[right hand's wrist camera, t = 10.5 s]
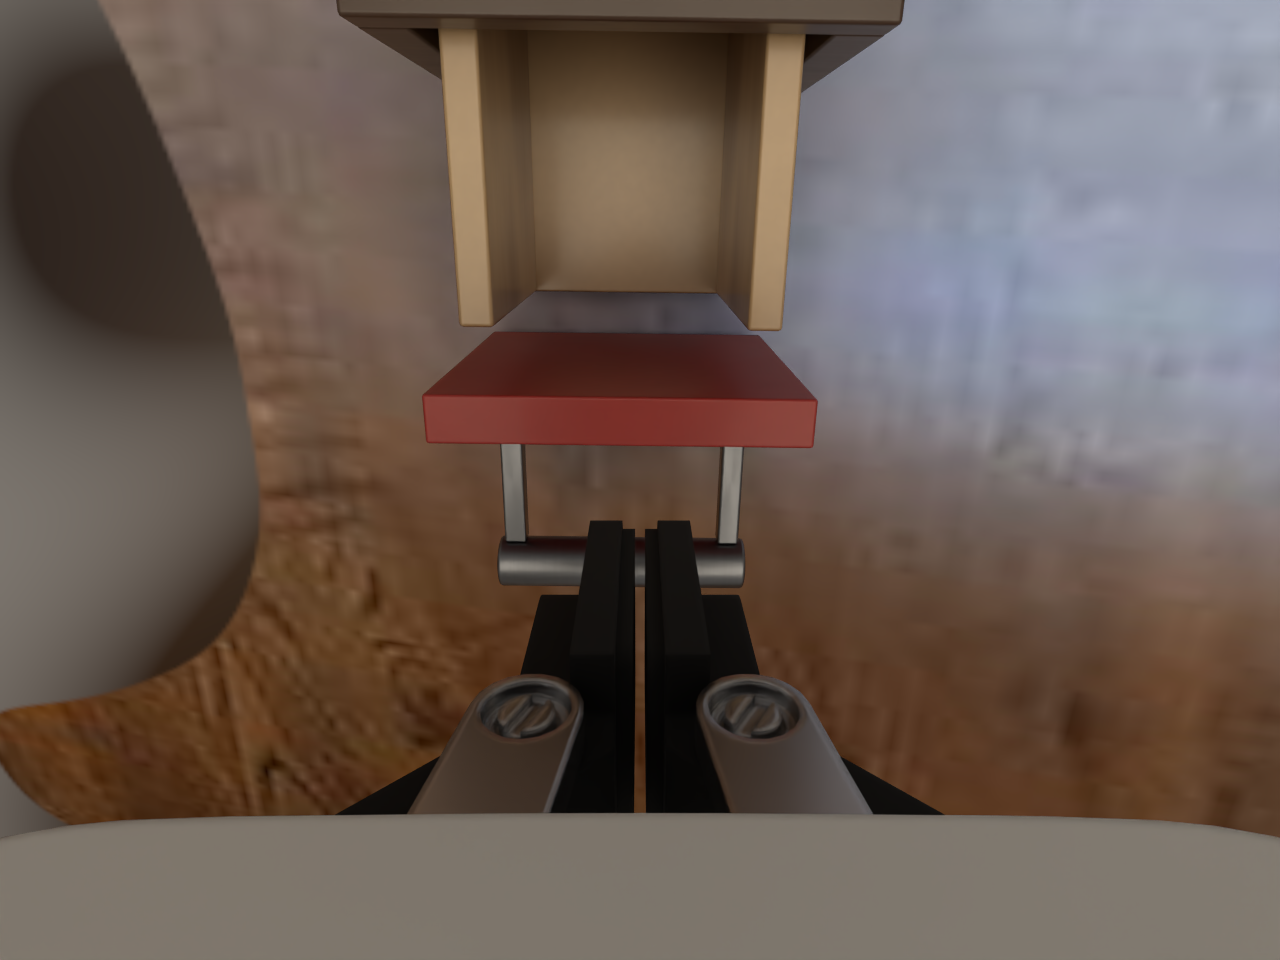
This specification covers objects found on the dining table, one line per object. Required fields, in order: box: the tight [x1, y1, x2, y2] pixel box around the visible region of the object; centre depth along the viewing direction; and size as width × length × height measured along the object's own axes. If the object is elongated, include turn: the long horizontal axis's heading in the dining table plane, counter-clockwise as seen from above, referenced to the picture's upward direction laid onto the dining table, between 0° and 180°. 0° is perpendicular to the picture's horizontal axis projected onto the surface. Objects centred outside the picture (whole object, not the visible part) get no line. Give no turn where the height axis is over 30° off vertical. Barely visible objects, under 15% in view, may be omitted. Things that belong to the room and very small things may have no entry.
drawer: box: [422, 28, 818, 588], centre depth 19 cm, size 24×9×9 cm, turn 179°
